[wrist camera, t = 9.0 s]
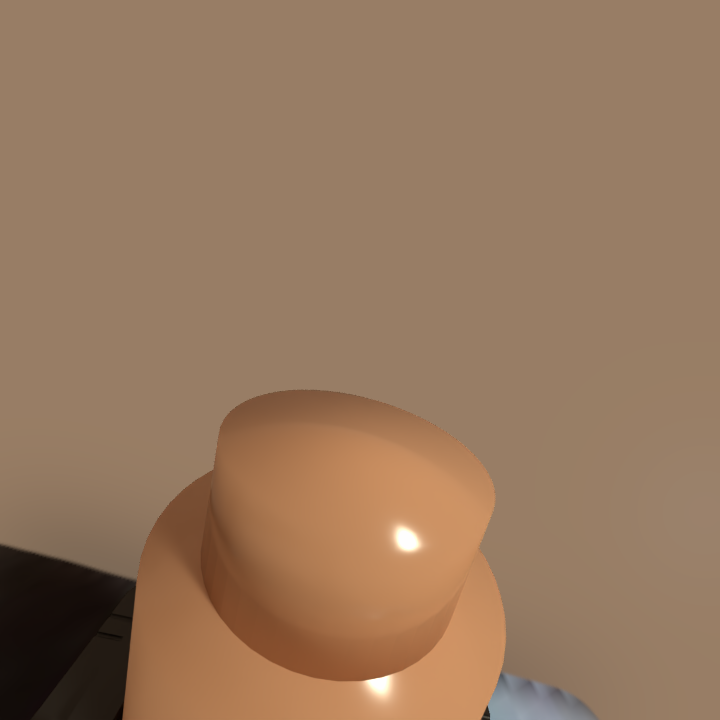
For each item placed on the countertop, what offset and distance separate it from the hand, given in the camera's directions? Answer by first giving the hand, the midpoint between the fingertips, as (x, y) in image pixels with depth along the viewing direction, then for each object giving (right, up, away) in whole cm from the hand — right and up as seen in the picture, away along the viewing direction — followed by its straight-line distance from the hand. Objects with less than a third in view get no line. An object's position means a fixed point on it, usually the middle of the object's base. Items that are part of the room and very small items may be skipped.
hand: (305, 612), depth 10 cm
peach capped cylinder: (-2, -8, 0) cm, 8 cm away
